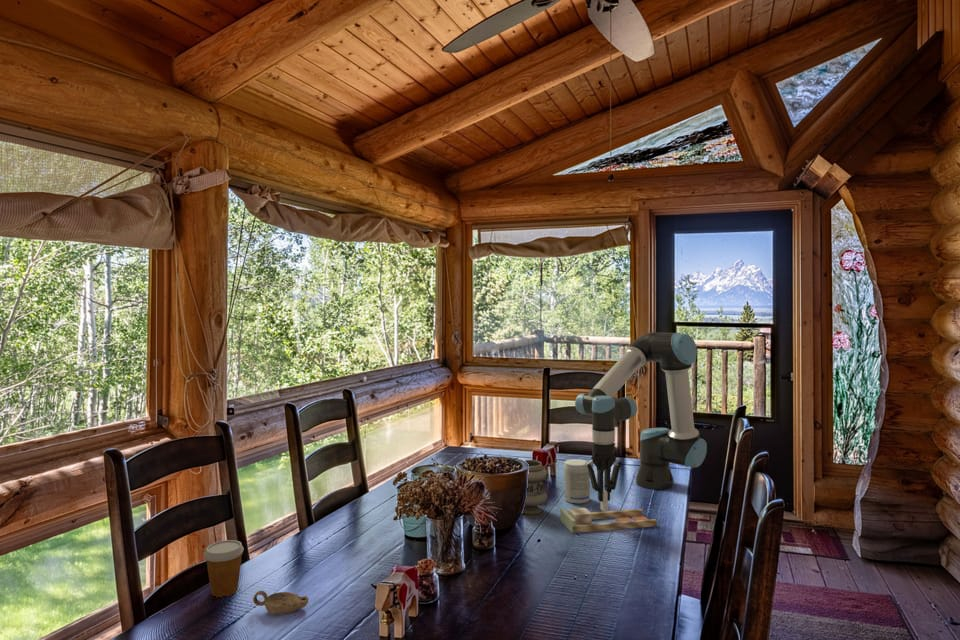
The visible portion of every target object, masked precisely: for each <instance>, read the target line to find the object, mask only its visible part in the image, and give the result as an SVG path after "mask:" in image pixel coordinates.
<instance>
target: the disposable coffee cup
mask: <svg viewBox="0 0 960 640" xmlns="http://www.w3.org/2000/svg"><path fill="white" fill-rule="evenodd" d="M243 553H244V546H243V544H242V542H241V541H239V540H234V539H227V540H220V541H219V540H218V541H216V542H213V543H211V544H210V545H208V546H207V547H206V548H205V551H204V553H203V556H204V559H205V560H206V565H207V572H208V573H207V574H208V579H209V580H208V581H209V586H210V592H211V596H212V595H213V596H216V597H215V598H218V597H221V598H223V597H222V596H227V597H230V596H233V595H235V594H236V593H237V592H238V590H239V580H240V573H241V572H240V571H241V566H242V565H241V562H242V556H243ZM236 591H237V592H236ZM235 592H236V593H235ZM232 594H233V595H232ZM229 595H230V596H229ZM213 596H212V597H213Z"/></svg>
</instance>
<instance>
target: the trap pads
mask: <svg viewBox="0 0 960 640" xmlns="http://www.w3.org/2000/svg"><path fill="white" fill-rule="evenodd" d="M613 519H615V520H616V522H623V521H636V520H649V519H648V517H646V516H645V515H644V514H643V515H638V516H630V517H627V516H625V517H614V518H613ZM632 519H633V520H632Z"/></svg>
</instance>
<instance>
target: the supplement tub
mask: <svg viewBox="0 0 960 640" xmlns="http://www.w3.org/2000/svg"><path fill="white" fill-rule="evenodd" d="M586 462H589V461H588V460H585V459H580V458H579V459H577V458H576V459H573V458H572V459H571V458H570V459H567V460H565V461H564V464H563V465H564V467H563V473H564V474H563V475H564V476H563V480H564V485H563V487H564V488H563V489H564V500H565V501H567V503H568V502H569V503H570V504H571V503H572V504H577V505H579V504H584V503H585V504H586V503H588V502H589V501H590V499H591V496H590V493H591V490H590V489H591V488H590V487H591V486H590V485H591V484H590V482H591V480H590V476H589V472H588V468H587V467H586V465H585V463H586Z"/></svg>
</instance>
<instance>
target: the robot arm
mask: <svg viewBox="0 0 960 640" xmlns="http://www.w3.org/2000/svg"><path fill="white" fill-rule="evenodd" d="M697 354H698V351H697V344H696V341H695V340H694V339H693V337H692V336H691V335H689V334H687V333H681V332H657V331H652V332H648V333H645V334H643V335H641V336H639V337H638V338H636V339H634V340H633V341H632V342H630V343H629V345H627V347H626V348H625V349H624V351H623V355H622V356H621V357H620V358H619V359H618V360H617V361H616V363H615V364H614V365H613V366H611V368H610V369H609V370H608V371H607V372H606V373H605V374H604V375H603V377H602V378H601V379H600V380H599V381H598V382H597V383H596V384H595V385H594V387H592V388H591V390H590V391H589V392H588V393H587V392H584V393H579V394H578V395H577V396H576V398H575V401H574V407H575V410H576V411H577V412H579V413H580V414H582V415H586V416H592V421H591V422H592V430H591V431H592V435H591V436H592V438H591V439H592V442H591V443H592V445H591V446H592V447H591V448H592V450H591V451H592V455H591V460H589V461H588V462H586V463H585V465H586V467H587V468H588V472H589V476H590V482H591V484H590V485H591V487H592V489H593V490H594V491H595V492H597V500H598V502H600V510H601V512H606V511H609V509H608V508H609V507H608V506H609V505H608V503H609V502H610V501H611V493H612V491H613V490H614V491H615V490H616V487H617V482H618V478H619V473H620V469H621V468H622V465H623V461H621V460H619V459H617V457H616V455H615V453H616V450H615V449H616V443H615V441H616V437H615V436H616V431H615V429H616V428H615V427H616V425H615V424H616V422H621V421H622V422H623V421H627V420H629V419H632V418H634V417H635V416H636V414H637V412H638V406H637V403H636V401H635V400H634V399H633V398H631V397H630V396H629V397H628V396H627V397H620V398H618V397H614V396H615V395H616V394H617V393H618V391H620V389H621V388H622V387H623V386H624V385H625V384H626V382H627V381H629V379H630V378H631V377H632V376H633V374H634V373H635V372H637V370H638V369H639V368H642V367H644V366H645V365H646V364H647V363H649V362H656V363H659V364H660V365H659V366H660V369H661V370H662V371H663V372H664V373H665V374H664V375H665V381H666V389H667V402H668V408H669V418H670V426H671V429H670V428H667V427H651V428H645V429H643V430H641V432H640V440H639V441H640V445H639V446H640V447H639V449H640V451H639V453H640V459H639V461H640V462H639V463H640V464H639V467H638V470H637V473H636V476H635V484H636V485H638V486H640V487H642V488H646V489H652V490H665V489H666V490H667V489H671V488H673V487H674V484H675V481H674V477H673V473H672V471H671V467H670V464H675V465H678V466H683V467H686V468H698V467H700V466H701V465H702V464H703V462H704V460H705V459H706V456H707V449H708V446H707V445H708V444H707V441H706V440H705V439H704V438H700V431H699V430H698V429H697V428H695V423H694V422H695V421H694V412H693V411H694V410H693V403H692V396H691V395H692V392H691V384H690V383H691V382H690V375H689V371H690V369H692V367H693V364H694V363H695V361H696V360H697ZM594 466H595V467H596V472H597V473H596V474H597V475H596V474H595V471H594ZM596 476H597V477H596ZM608 501H609V502H608Z"/></svg>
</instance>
